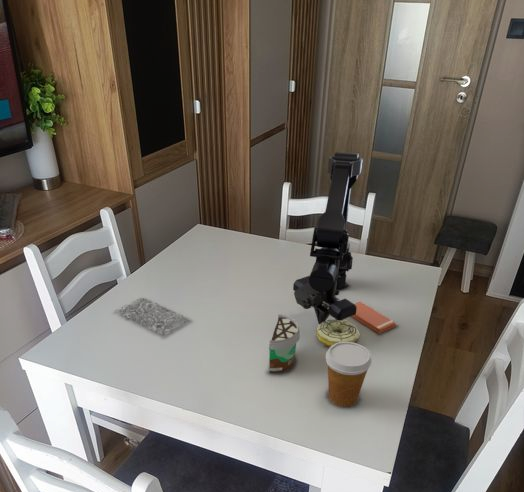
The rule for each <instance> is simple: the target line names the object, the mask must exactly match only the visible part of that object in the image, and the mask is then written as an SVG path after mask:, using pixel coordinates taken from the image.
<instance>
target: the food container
mask: <svg viewBox="0 0 524 492" xmlns="http://www.w3.org/2000/svg"><path fill="white" fill-rule="evenodd" d="M277 316H278V317H277V322H276V325H275V327H274V331H273V334H272V337H271V339H269V344H268V350H269V374H281V373H285V372H287V371H289V370H290V369H292V367H293V366H294V364H295V356H296V349H297V343H298V342H299V340H300V338H301V331H300V326H299V325H298V323H297V321H296V320H295V319H294V318H292V317H290V316H287V315H285V314H280V313H279V314H278V315H277Z"/></svg>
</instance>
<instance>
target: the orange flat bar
mask: <svg viewBox="0 0 524 492" xmlns="http://www.w3.org/2000/svg"><path fill="white" fill-rule="evenodd" d="M354 304H355V305H356V306H357V310H356V314H355V315H353V316H350V318H353V319H355V320H356V321H358V322H359V323H360V324H362V325H363V326H366V327H367V328H369V329H371V330H372V331H373V332H374V333H377V334H378V335H381V334H382V333H383V334H384V333H385V332H387V331H389V330H391V329H394V328H396V327H397V324H396V322H395V321H394V320H392V319H390V318H389V317H387V316H385V315H383V314H382V313H381V312H378V311H377V310H375V309H374V308H372V307H370V306H368V305H366V304H365V303H363V302H362V301H358V302H356V303H354Z"/></svg>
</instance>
